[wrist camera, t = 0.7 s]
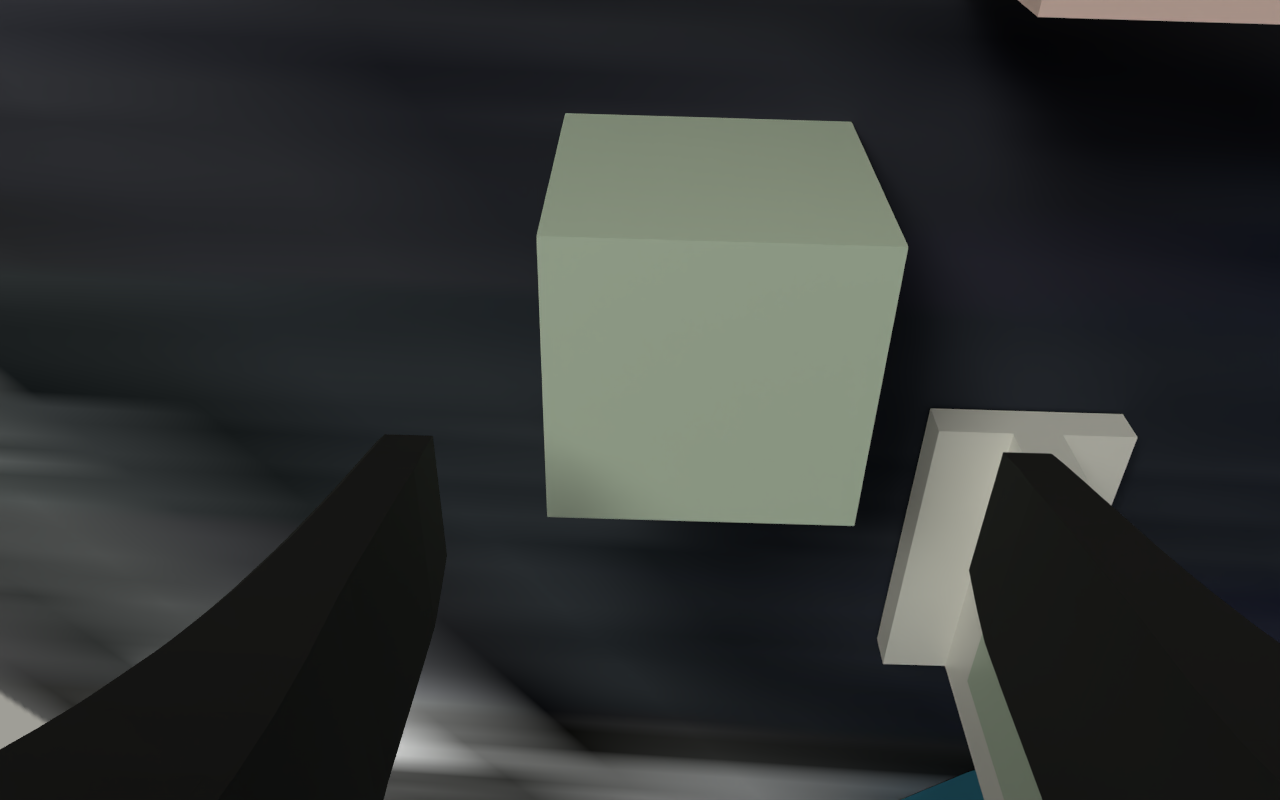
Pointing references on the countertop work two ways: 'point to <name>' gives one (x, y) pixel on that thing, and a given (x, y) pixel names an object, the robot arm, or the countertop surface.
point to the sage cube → (713, 318)
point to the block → (953, 789)
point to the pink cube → (1161, 10)
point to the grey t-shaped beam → (943, 550)
